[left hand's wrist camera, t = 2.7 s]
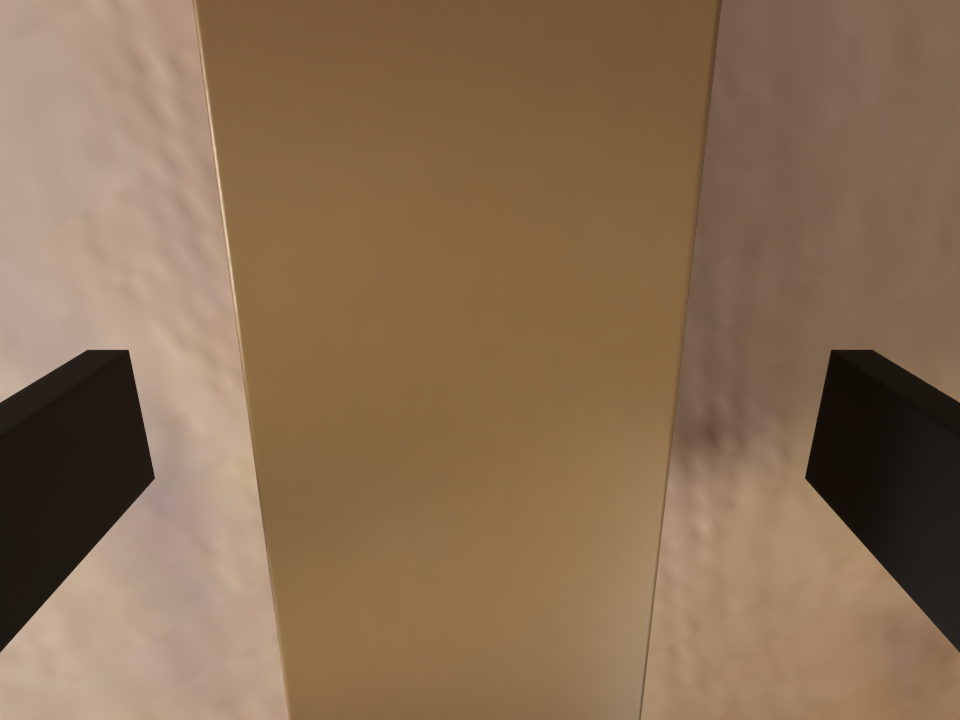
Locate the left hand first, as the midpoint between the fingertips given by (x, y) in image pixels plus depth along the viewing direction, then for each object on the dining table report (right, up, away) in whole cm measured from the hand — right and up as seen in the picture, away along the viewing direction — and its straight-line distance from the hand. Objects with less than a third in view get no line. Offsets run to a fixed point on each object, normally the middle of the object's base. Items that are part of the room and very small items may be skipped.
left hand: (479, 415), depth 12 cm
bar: (0, +8, +2) cm, 8 cm away
